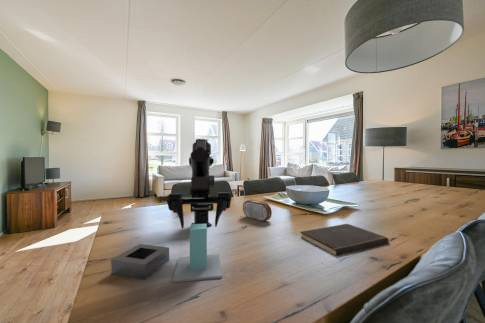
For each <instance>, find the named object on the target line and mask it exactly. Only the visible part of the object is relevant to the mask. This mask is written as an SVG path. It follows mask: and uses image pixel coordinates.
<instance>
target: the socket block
mask: <svg viewBox="0 0 485 323" xmlns="http://www.w3.org/2000/svg"><path fill="white" fill-rule="evenodd" d="M169 261H170V247H166V246H159V245H151V244H143V243H138V244H137V245H135V246H133V247H131V248H129V249H128V250H126V251H124V252H122V253H121V254H119V255H117V256H115V257H114V258H111V260H110V264H111V268H110V269H111V271H110V272H111V275H114V276H120V277H127V278H132V279H138V280H142V281H143V280H144V281H145V280H147V279H148V278H149V277H150V276H152V275H153V274H154V273H155V272H157V271H158V270H159V269H161V268H162V267H163V266H164V265H165V264H167V263H168V262H169Z"/></svg>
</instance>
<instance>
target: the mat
mask: <svg viewBox="0 0 485 323" xmlns="http://www.w3.org/2000/svg"><path fill="white" fill-rule="evenodd" d="M222 278H223V274H222V266H221V258H220V254H219V253H218V254H217V253H216V254H207V269H204V270H191V271H190V255H189V256H179V257H178V259H177V263H176V266H175V269H174V273H173V277H172V283H181V282H188V281H189V282H190V281H201V280H203V281H204V280H213V279H222Z"/></svg>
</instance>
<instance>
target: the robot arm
mask: <svg viewBox="0 0 485 323" xmlns="http://www.w3.org/2000/svg"><path fill="white" fill-rule="evenodd" d="M211 154H212V144H211V143H209V142H208V139H206V138H197V139H195V142H194V143H193V144H192V150H191V153H190V156H189V158H188V163H189V167H191V177H190V187H189V195H190V196H189V197H188V196H187V197H183V195H182V193H181V192H178V193H176V192H175V193H174V192H171V193H169V194H167V196H166V197H167V198H166V202H167V208H168V210H169V211H171V212H172V213H174V214H176V215H177V216H178V219H179V222H180V226H181V229H184V227H185V226H184V225H185V221H184V220H185V219H184V209H183V207H184V205H190V212H191V213H192V212H193V213H194V215H193V218H194V219H193V221H194V222H191V224H207V228H209V227H211V226H213V225H212V223H211V222H209V221H210V220H209V212H212V211H214V204H215V205H216V210H215V218H214V219H215V221H214V226H215V227H216V228H217V226H218V223H219V221H220V217H221V215H222V213H223V212H225V211H226V210H227V209H230V208H231V204H232V203H231V202H232V193H230V191H223V192H222V191H217V196H212V195H211V189H210V188H214V187H215V175H210V167H212V166H213V164H214V158H213V157H212V156H211ZM191 224H190V225H191Z"/></svg>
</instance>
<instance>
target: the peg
mask: <svg viewBox="0 0 485 323" xmlns="http://www.w3.org/2000/svg"><path fill="white" fill-rule="evenodd" d="M207 229H208V227H207V224H190V226H189V256H190V271H191V270H204V269H207V255H208V251H207V250H208V247H207V246H208V243H207V242H208V240H207V239H208V237H207V236H208V230H207Z"/></svg>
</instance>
